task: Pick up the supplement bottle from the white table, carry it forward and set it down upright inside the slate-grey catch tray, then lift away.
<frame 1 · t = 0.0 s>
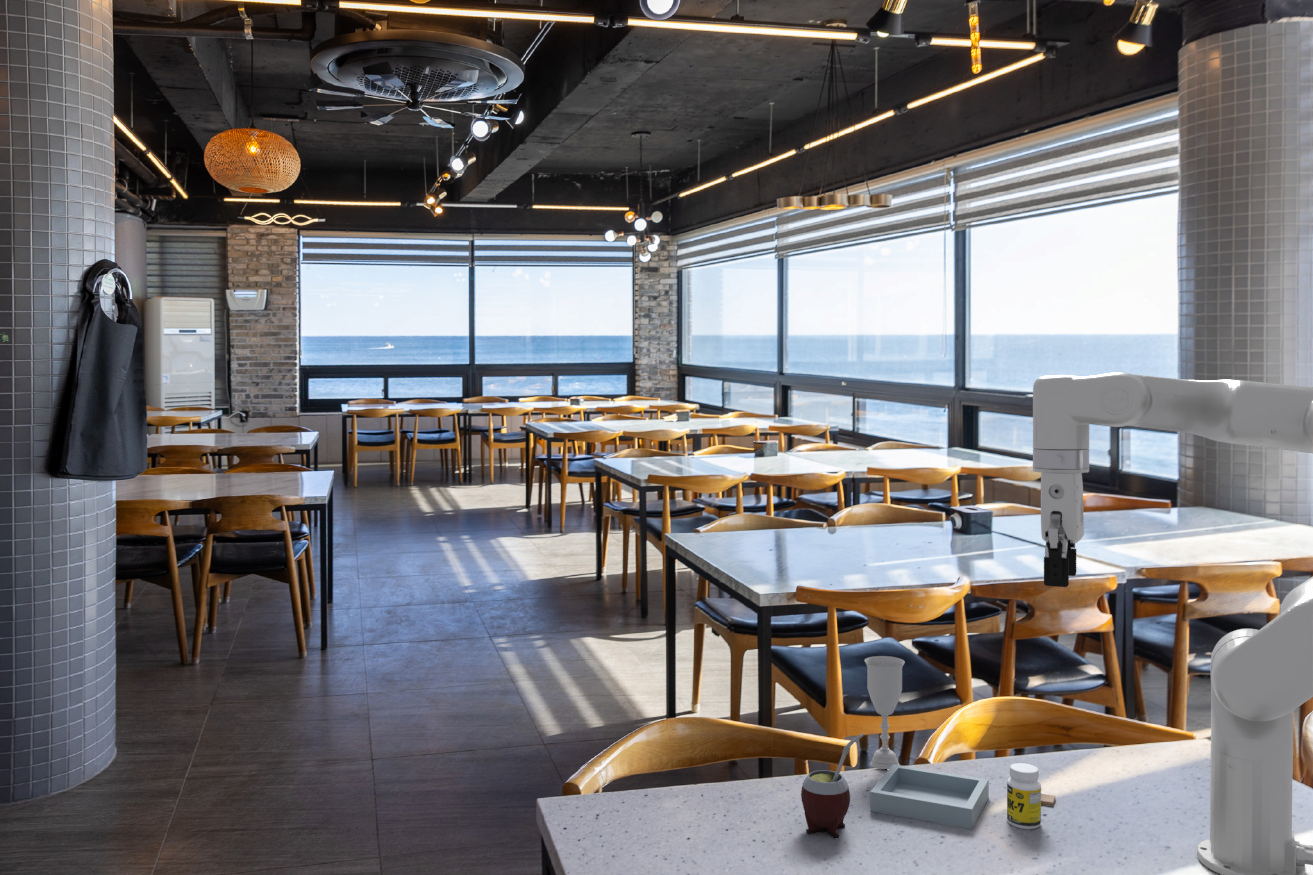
hand: (1060, 580, 148), 37 cm above the table, tool pointing down, fingers open, 9 cm apart
chalice: (885, 765, 177), on the table
supplement bottle: (1023, 824, 153), on the table
mate gourd: (829, 831, 151), on the table
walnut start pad: (1033, 799, 161), on the table
catch tray: (930, 804, 160), on the table
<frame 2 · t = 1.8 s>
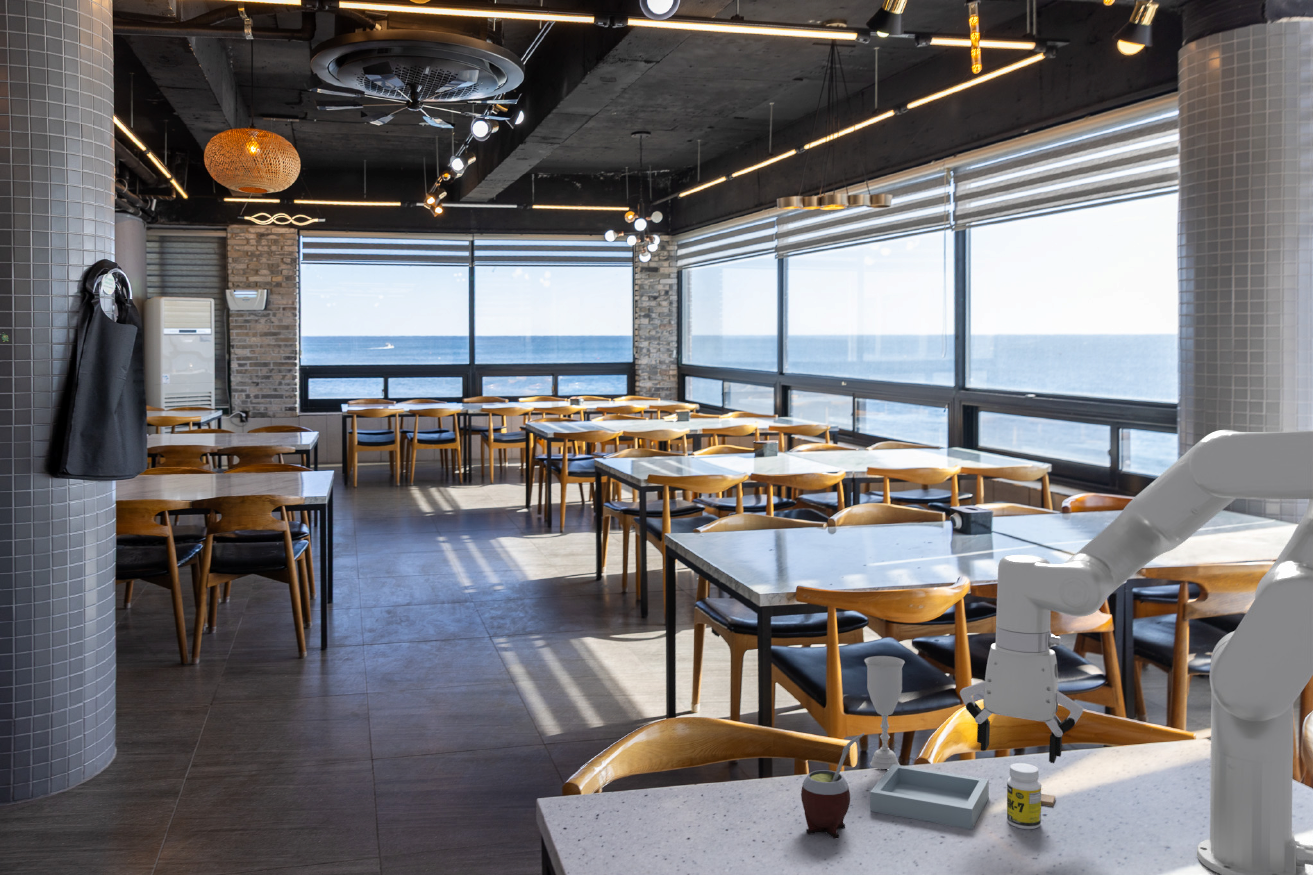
hand: (1018, 754, 153), 10 cm above the table, tool pointing down, fingers open, 9 cm apart
nothing on the table moved.
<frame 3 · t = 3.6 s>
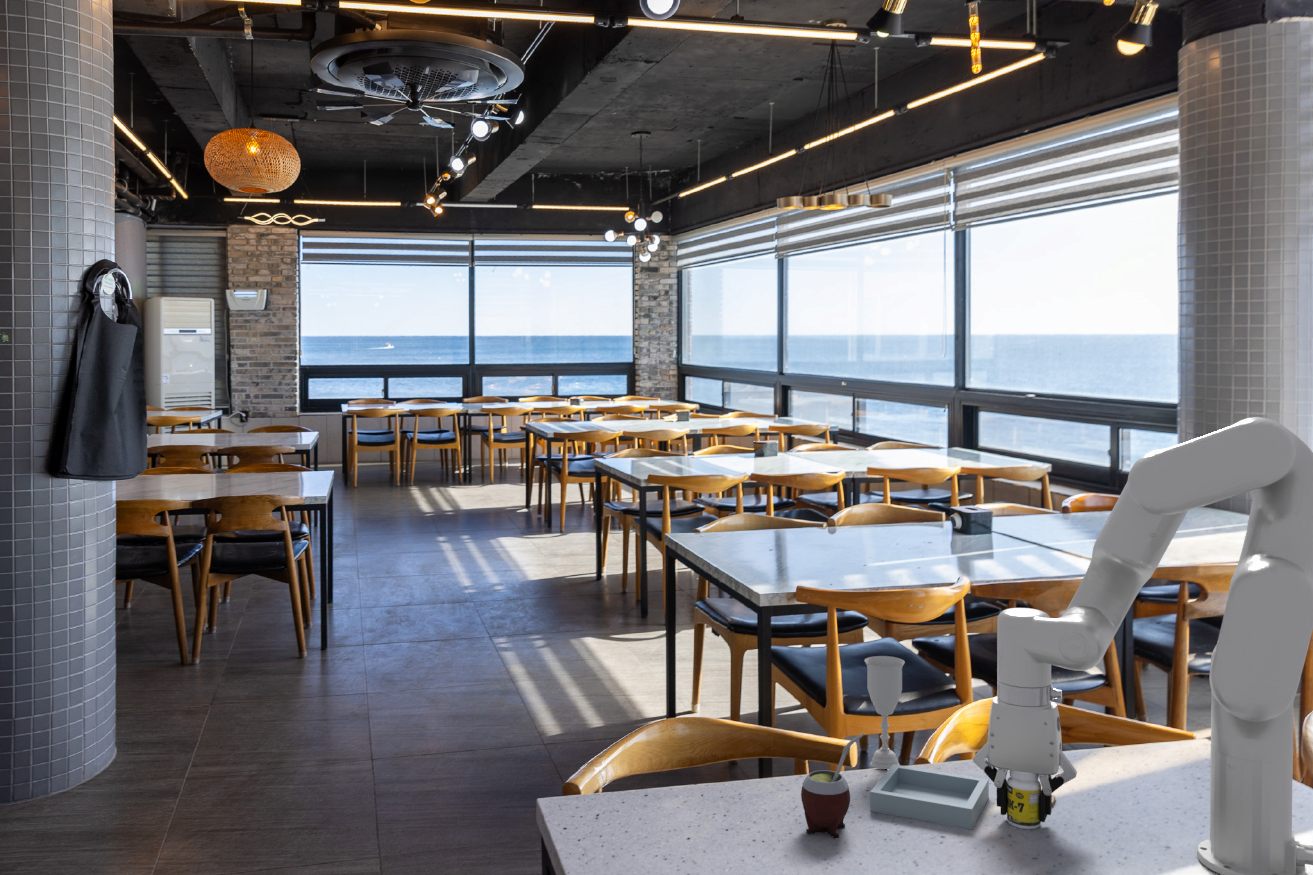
hand: (1023, 813, 152), 1 cm above the table, tool pointing down, fingers closed on supplement bottle, 4 cm apart
supplement bottle: (1023, 824, 153), on the table, touching gripper
everything else where it was.
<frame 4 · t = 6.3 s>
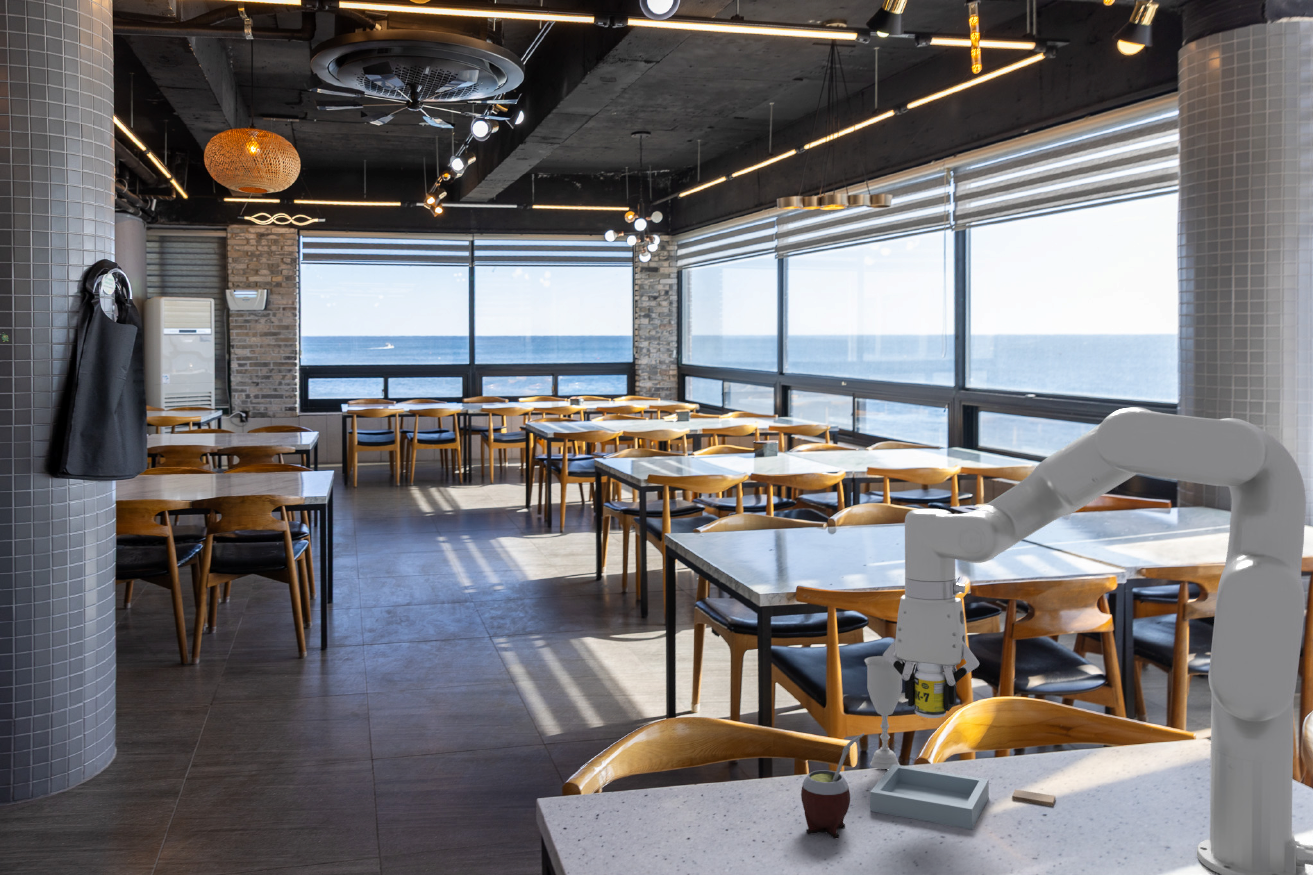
hand: (930, 705, 159), 16 cm above the table, tool pointing down, fingers closed on supplement bottle, 4 cm apart
supplement bottle: (930, 715, 159), point 14 cm above the table, touching gripper
everything else where it was.
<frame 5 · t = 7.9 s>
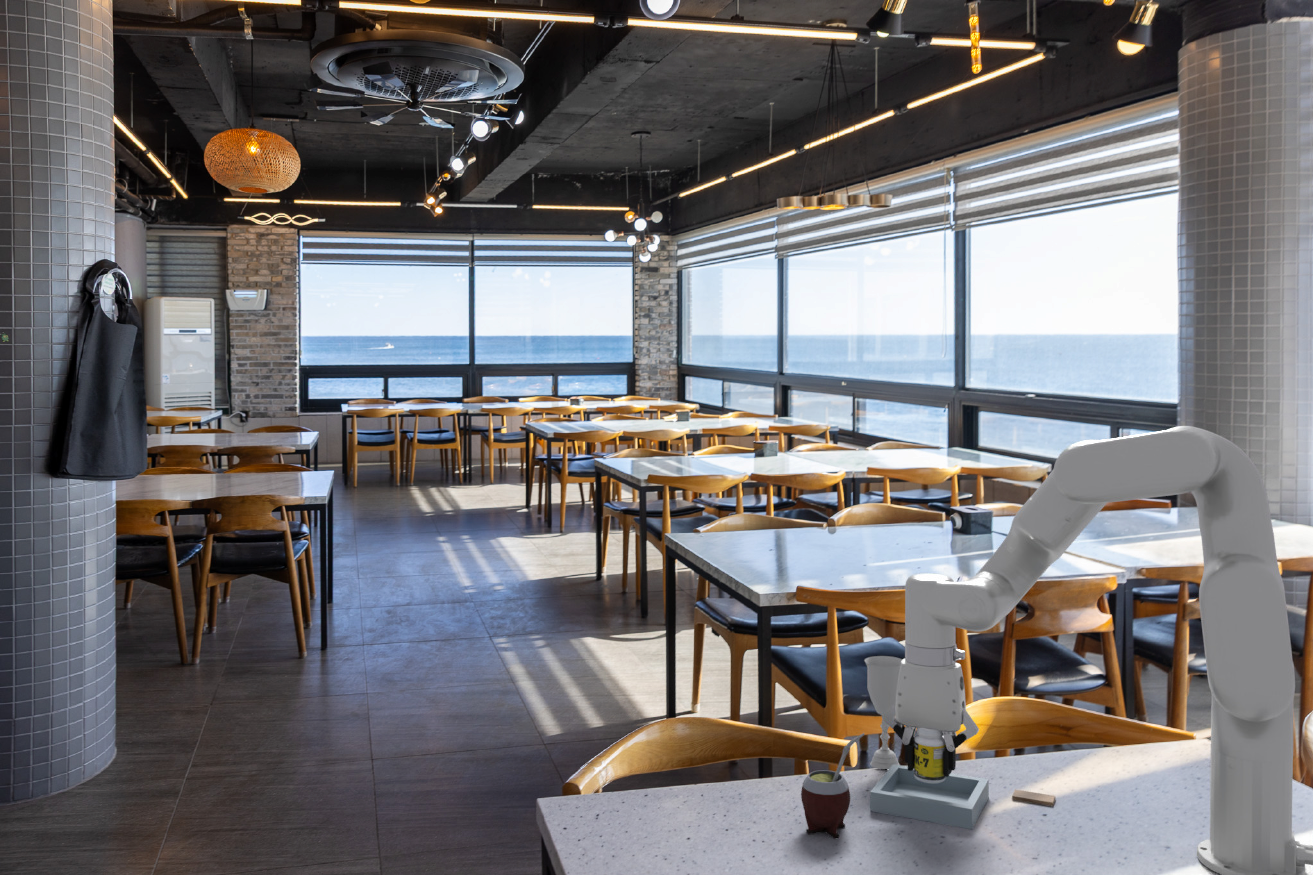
hand: (929, 769, 160), 5 cm above the table, tool pointing down, fingers closed on supplement bottle, 4 cm apart
supplement bottle: (929, 779, 160), point 4 cm above the table, touching gripper
everything else where it was.
when the fingers open (3 cm above the table, at t = 9.2 s): supplement bottle drops 1 cm, resting on catch tray.
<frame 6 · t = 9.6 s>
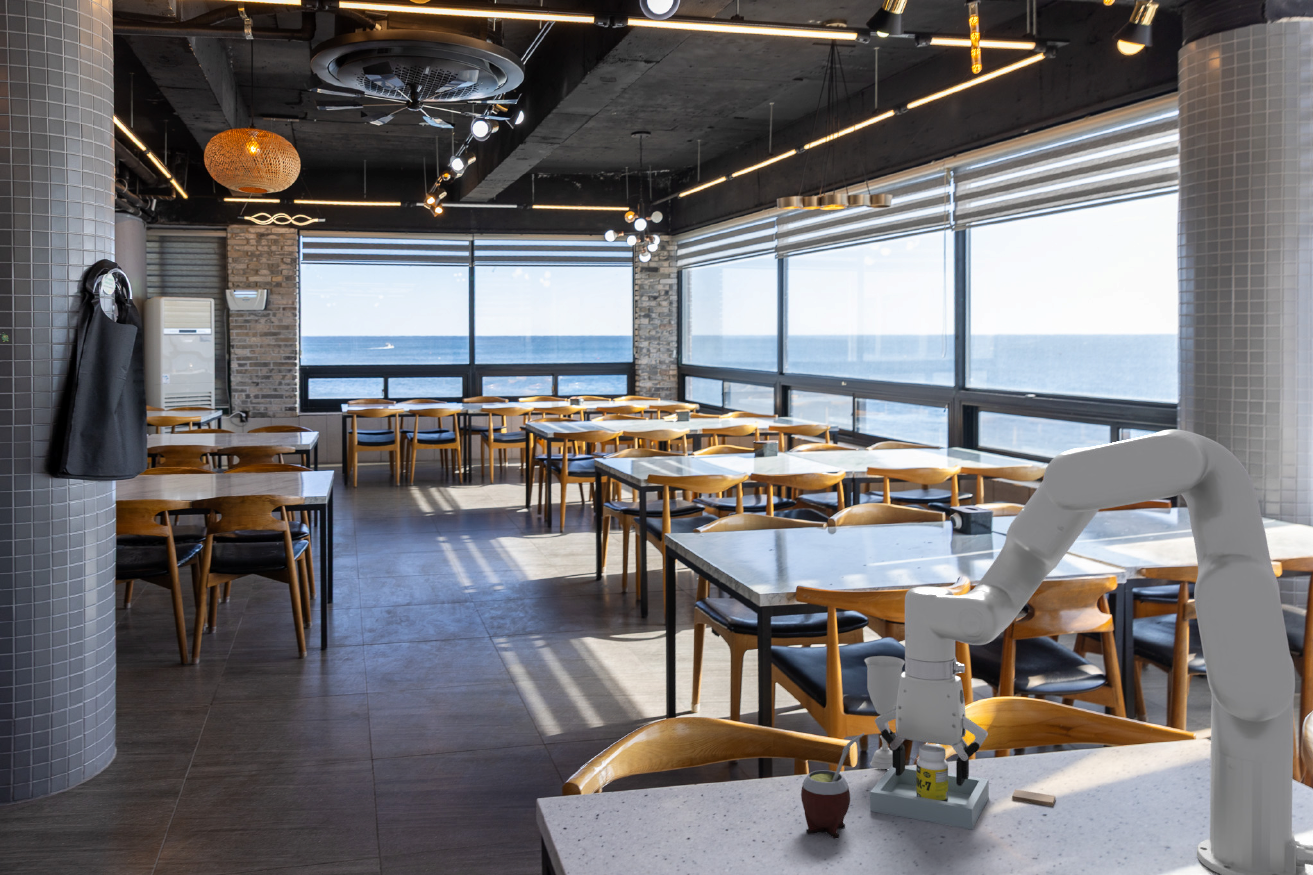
hand: (930, 777, 160), 4 cm above the table, tool pointing down, fingers open, 9 cm apart
supplement bottle: (932, 802, 160), resting on catch tray
everything else where it was.
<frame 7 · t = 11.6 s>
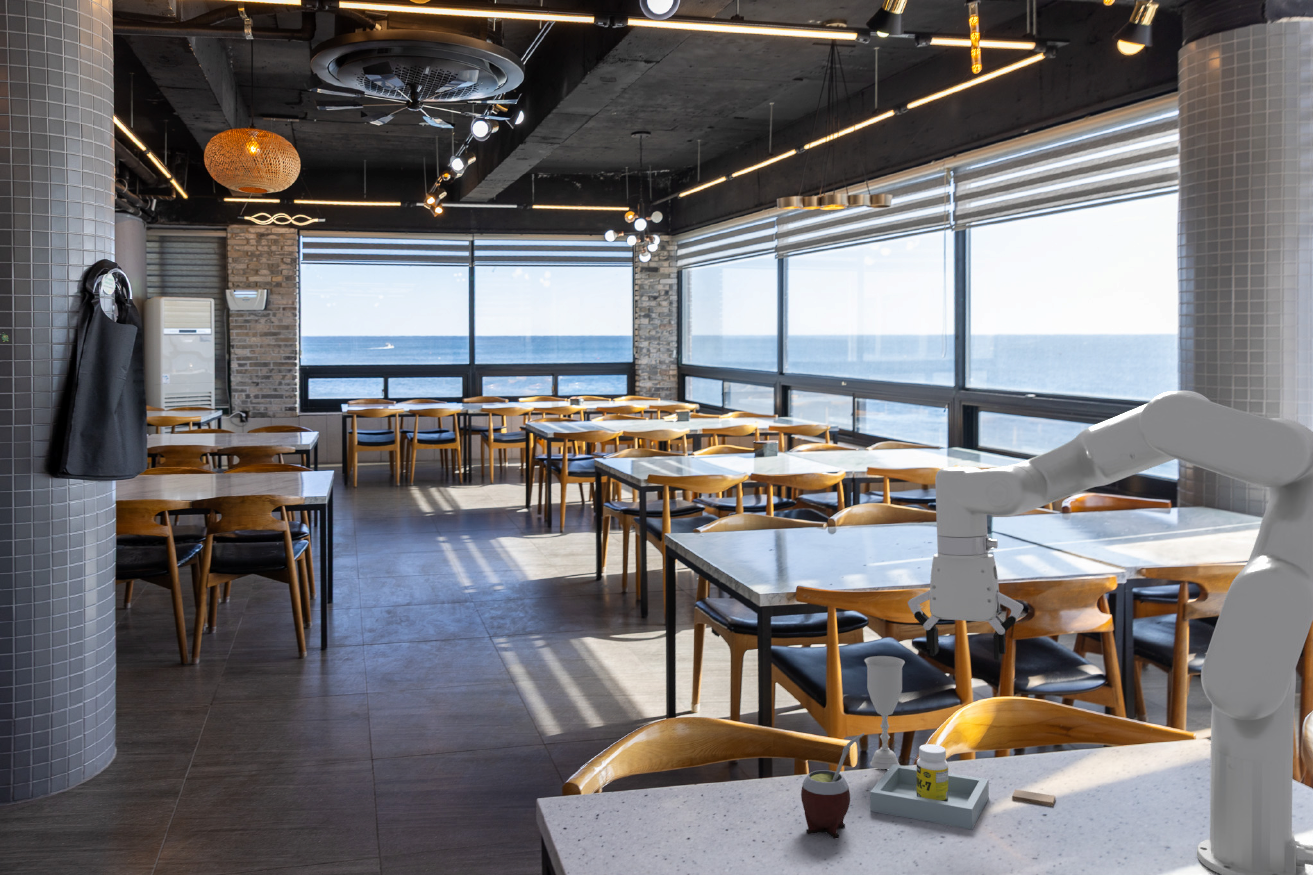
hand: (965, 656, 160), 23 cm above the table, tool pointing down, fingers open, 9 cm apart
nothing on the table moved.
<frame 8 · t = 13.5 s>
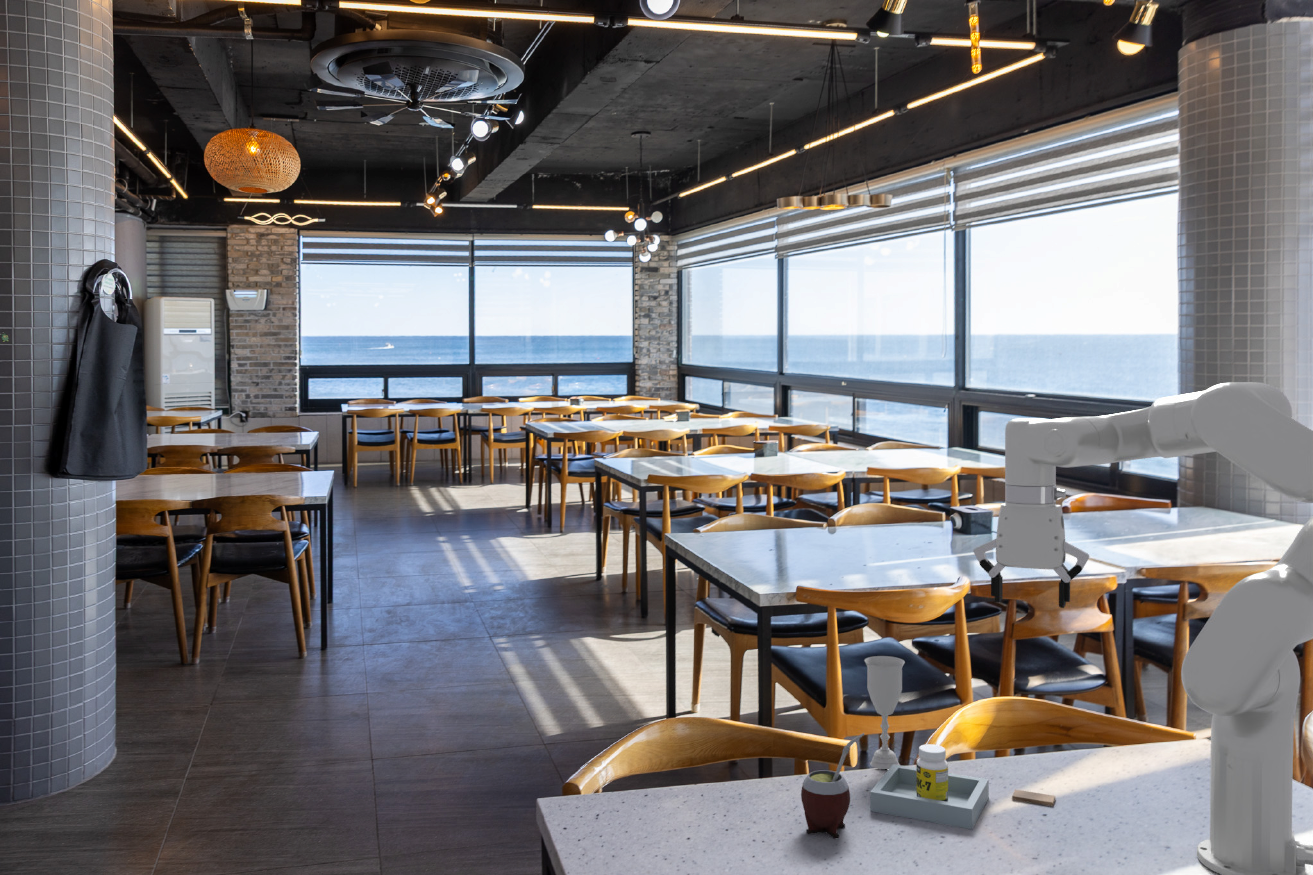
hand: (1030, 603, 163), 30 cm above the table, tool pointing down, fingers open, 9 cm apart
nothing on the table moved.
at the end: supplement bottle inside the target area on the catch tray (0.3 cm from its centre), point 0.3 cm above the catch tray's base; supplement bottle tilted 0°; the gripper is holding nothing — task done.
